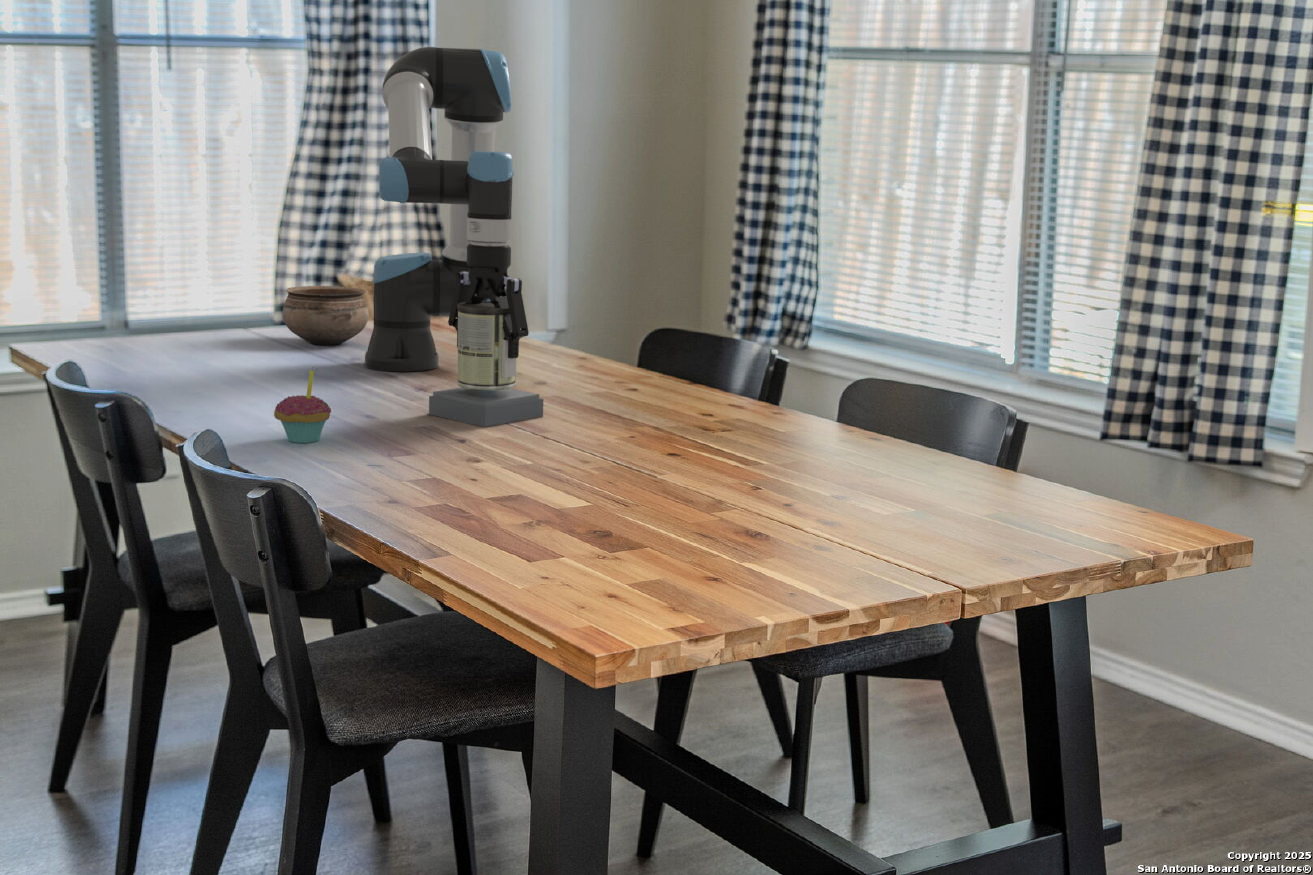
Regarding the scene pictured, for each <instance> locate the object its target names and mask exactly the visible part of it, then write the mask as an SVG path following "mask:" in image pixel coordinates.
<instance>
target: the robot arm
mask: <svg viewBox="0 0 1313 875" xmlns="http://www.w3.org/2000/svg"><path fill="white" fill-rule="evenodd" d="M509 74H510V73H509V68H508V64H507V59H506V57H505V55H504V54H503V53H501V52H500V51H496V50H489V49H483V48H459V47H456V48H453V47H436V46H425V47H423V46H422V47H418V48H417V49H416V48H415V49H413V50H410V51H408V52H407V53H405V54H403V55H402V56H400V57H399V58H398V59H397V60H396V61H395V62H394V63H393V64H392V65H391V66H390V68H389V69H388V71H387V72H386V74H385V76H384V79H383V83H382V100H383V103H384V104H385V107H386V108H387V112H388V145H389V146H388V148H389V150H388V152H389V153H388V154H389V157H384V158H381V159H380V160H379V163H378V173H379V174H378V186H379V188H378V190H379V192H378V193H379V195H378V196H379V197H380V199H381V200H382V201H384V202H392V203H393V202H394V203H400V204H405V203H407V204H408V203H409V204H411V203H412V204H415V203H417V204H447V205H450V206H449V208H450V214H449V216H450V217H449V244H448V245H447V246H446V247H445V248H444V249H442V252H441V259H438V260H437V259H433V257H432V256H431V253H429V252H410V253H408V252H407V253H399V254H393V255H387V256H383V257H380V258H378V259H377V260H376V261H375V262H374V265H373V279H372V284H373V329H372V333H371V336H370V339H369V342H368V346H367V350H366V352H365V354H364V365H365V367H366V368H369V369H372V370H379V371H388V372H420V371H421V372H422V371H429V370H435V369H437V368H438V367H439V365H440V364H439V362H440V361H439V360H440V359H439V358H440V357H439V354H438V352H437V348H436V344H435V340H434V337H433V334H432V331H431V330H432V329H431V317H446V318H447V317H448V321H447V324H448V326H450V327H453V328H454V329H455V330H456V347H457V349H458V308H457V305H458V304H459V303H462V302H466V304H479V303H481V302H482V301H491V303H492V304H494V306H495V308H508V307H509V312H510V315H504V314H503V330H504V333H505V336H506V337H504V338H503V339H502V377H503V378H507V377H513V376H516V377H517V359H518V358H519V355H520V354H519V352H520V351H519V350H520V348H519V347H520V346H519V345H520V340H521V338H524V337H528V336H529V334H530V332H529V327H528V322H527V317H526V316H527V314H526V312H525V311H526V310H525V306H524V299H523V293H522V289H523V288H522V287H523V281H522V279H521V278H511V277H509V273H508V270H509V269H508V268H510V267H511V265H512V259H511V258H512V247H511V246H510V244H509V243H511V242H512V220H513V219H512V204H513V203H512V201H513V176H514V168H513V155H512V154H510V153H509V152H505V151H496V150H495V145H496V144H495V143H496V130H497V128H498V127H499V126H500V125H501V124H502V123H503V122H504V113H505V114H507V113H509V112H511V110H512V91H511V82H510V81H511V80H510V75H509ZM430 109H436V110H437V109H440V110H441V109H442V110H444V119H445V120H446V121H447V123H448V124H449V125H450V127H451V158H450V160H448V159H446V160H445V159H433V153H432V152H433V151H432V132H431V123H430V122H431V120H430V119H431V118H430ZM508 244H509V245H508ZM511 330H512V332H511Z"/></svg>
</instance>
